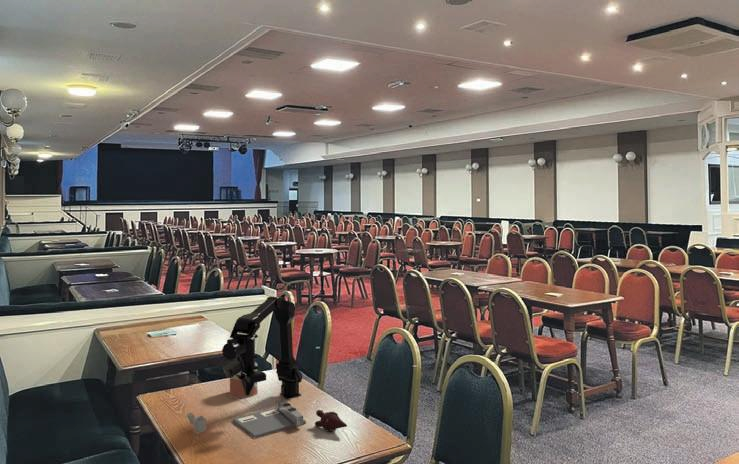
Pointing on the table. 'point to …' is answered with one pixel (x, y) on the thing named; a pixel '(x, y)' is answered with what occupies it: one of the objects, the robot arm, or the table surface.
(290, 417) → the cable arm
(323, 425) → the icecream
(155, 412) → the table surface
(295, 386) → the robot arm
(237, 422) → the equipment panel
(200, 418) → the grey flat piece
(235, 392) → the canned food
